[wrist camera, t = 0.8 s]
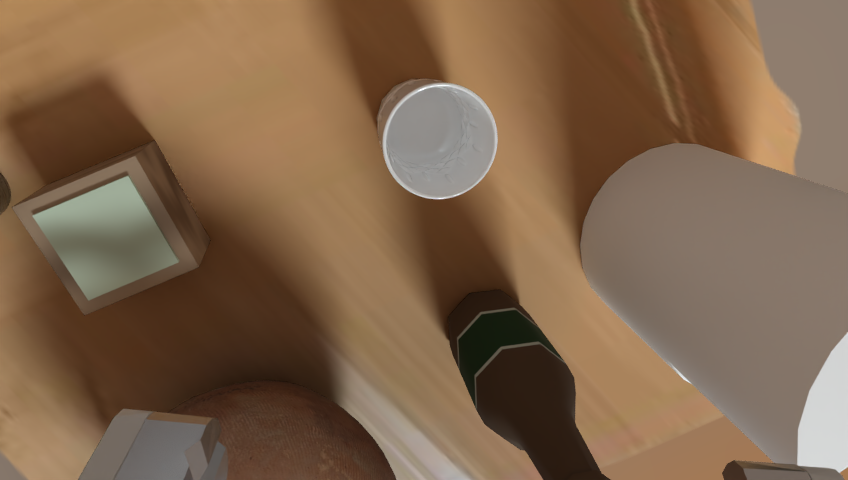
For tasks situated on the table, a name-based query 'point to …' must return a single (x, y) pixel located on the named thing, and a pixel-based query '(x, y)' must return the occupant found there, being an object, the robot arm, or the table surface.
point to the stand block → (115, 228)
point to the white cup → (436, 137)
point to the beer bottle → (520, 384)
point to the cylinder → (733, 289)
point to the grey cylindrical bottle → (4, 194)
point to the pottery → (288, 434)
